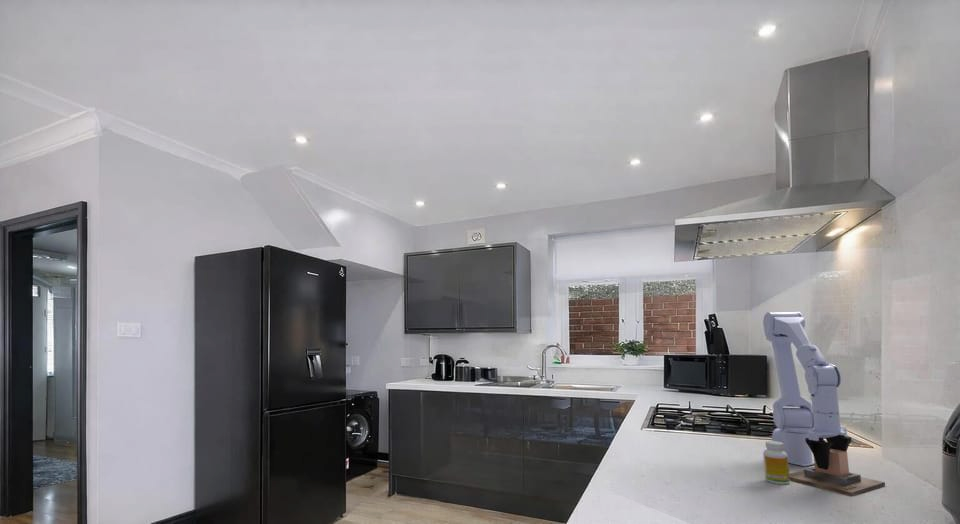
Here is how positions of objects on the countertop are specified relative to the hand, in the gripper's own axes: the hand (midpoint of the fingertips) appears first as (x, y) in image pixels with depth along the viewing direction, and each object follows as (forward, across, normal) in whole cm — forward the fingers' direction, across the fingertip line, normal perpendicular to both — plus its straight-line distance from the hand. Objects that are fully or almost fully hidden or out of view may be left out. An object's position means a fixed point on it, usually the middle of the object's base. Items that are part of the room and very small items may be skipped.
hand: (831, 466), depth 126 cm
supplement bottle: (+4, -12, +7) cm, 14 cm away
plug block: (+3, 0, 0) cm, 3 cm away
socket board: (+4, 0, 0) cm, 4 cm away
